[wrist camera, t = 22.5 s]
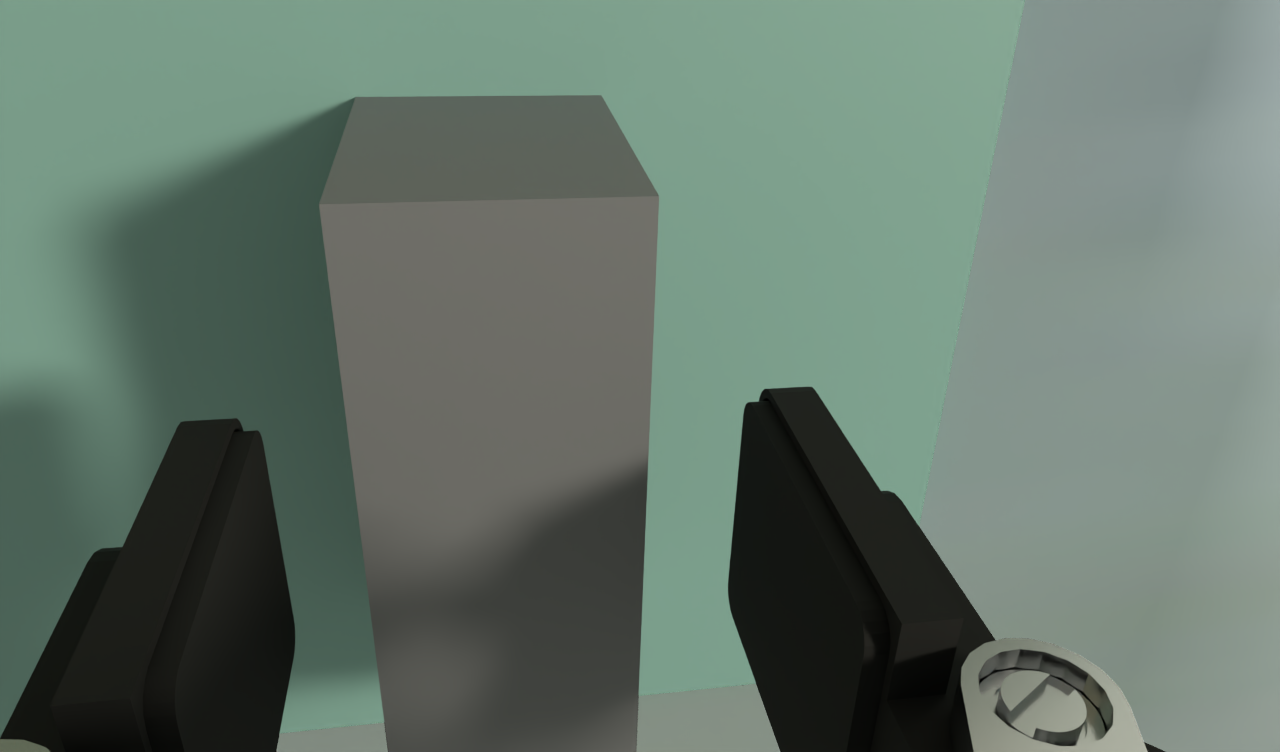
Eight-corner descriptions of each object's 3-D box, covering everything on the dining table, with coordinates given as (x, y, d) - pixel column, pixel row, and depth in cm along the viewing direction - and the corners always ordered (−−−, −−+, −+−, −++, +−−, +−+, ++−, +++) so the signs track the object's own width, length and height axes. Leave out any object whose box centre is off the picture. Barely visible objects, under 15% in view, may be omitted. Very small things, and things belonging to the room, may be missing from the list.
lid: (-164, 724, 17) (-390, 1056, 12) (-599, -166, 10) (-1386, -160, 6) (866, 624, 20) (991, 863, 15) (1001, -119, 13) (1282, -91, 9)
